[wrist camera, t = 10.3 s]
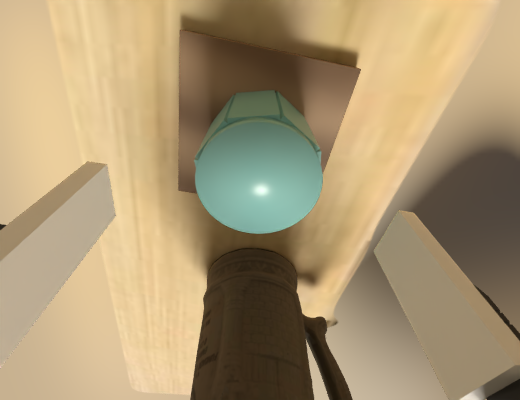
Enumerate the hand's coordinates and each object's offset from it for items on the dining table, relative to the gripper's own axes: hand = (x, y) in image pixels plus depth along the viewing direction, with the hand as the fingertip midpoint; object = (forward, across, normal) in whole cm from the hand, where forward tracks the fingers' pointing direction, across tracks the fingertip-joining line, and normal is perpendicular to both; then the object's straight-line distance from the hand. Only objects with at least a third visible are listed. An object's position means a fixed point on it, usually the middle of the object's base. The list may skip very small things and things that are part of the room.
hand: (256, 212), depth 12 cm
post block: (+11, 0, 0) cm, 11 cm away
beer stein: (+11, +5, -18) cm, 22 cm away
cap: (+10, 0, 0) cm, 10 cm away
